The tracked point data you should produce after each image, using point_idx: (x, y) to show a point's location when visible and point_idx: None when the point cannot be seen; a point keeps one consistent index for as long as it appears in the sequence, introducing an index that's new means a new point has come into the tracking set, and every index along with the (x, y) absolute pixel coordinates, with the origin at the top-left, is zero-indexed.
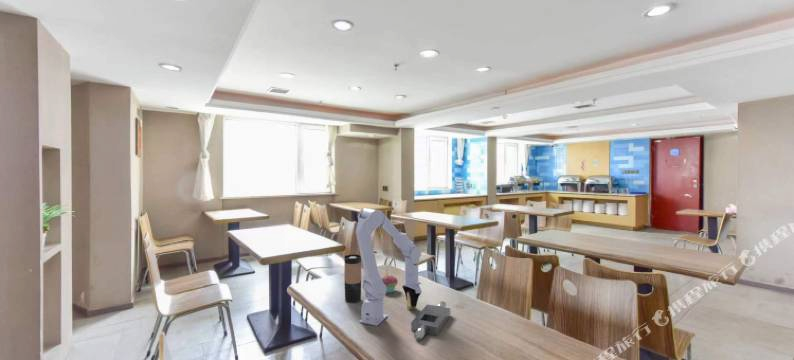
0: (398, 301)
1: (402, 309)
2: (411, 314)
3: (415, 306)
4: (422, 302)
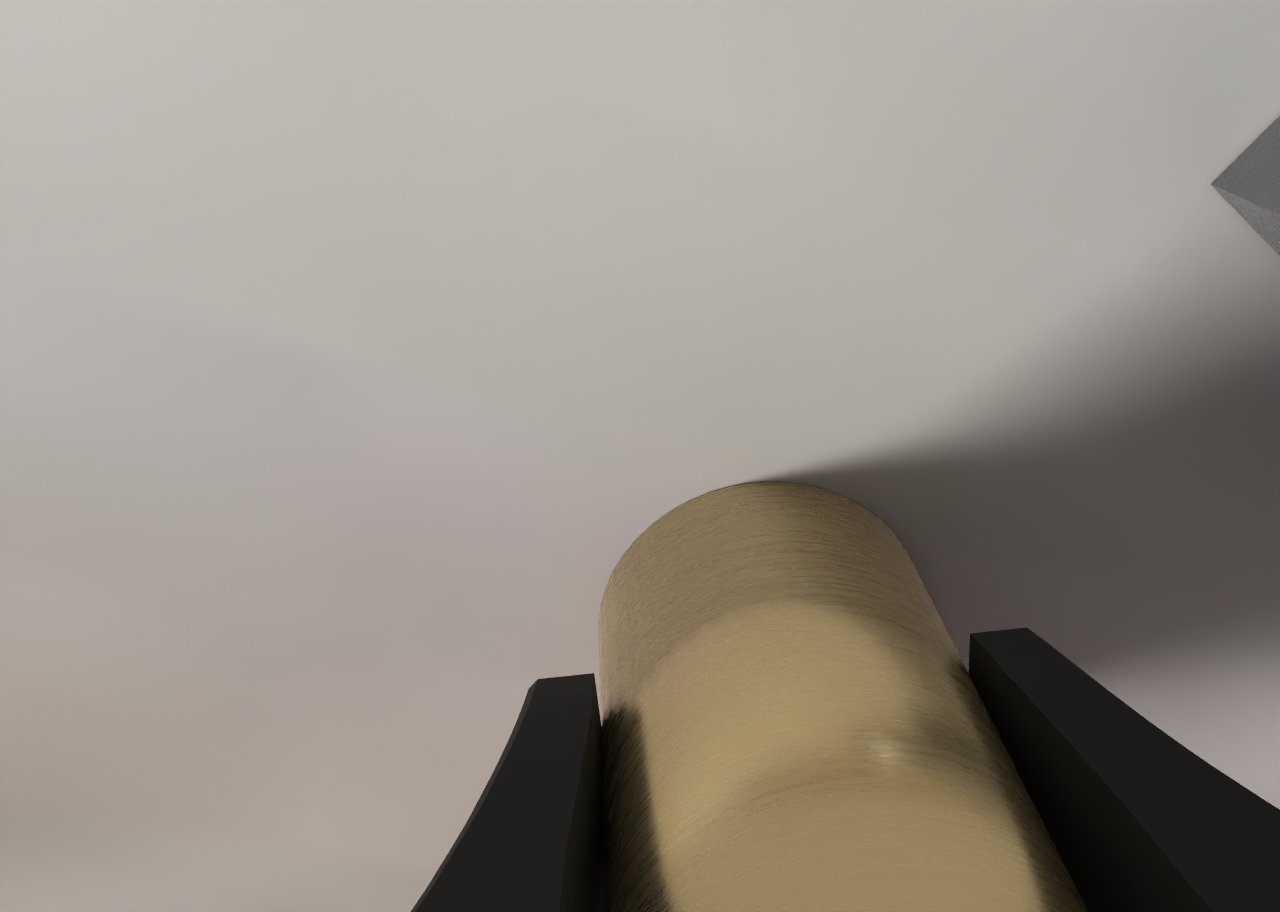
0: (75, 850)
1: None
2: (1161, 728)
3: (929, 604)
4: (269, 52)
